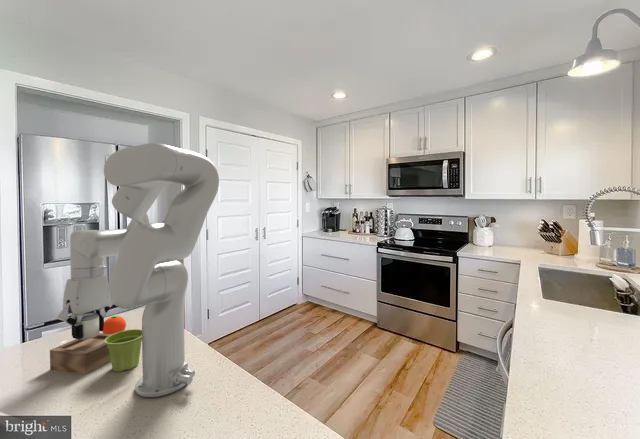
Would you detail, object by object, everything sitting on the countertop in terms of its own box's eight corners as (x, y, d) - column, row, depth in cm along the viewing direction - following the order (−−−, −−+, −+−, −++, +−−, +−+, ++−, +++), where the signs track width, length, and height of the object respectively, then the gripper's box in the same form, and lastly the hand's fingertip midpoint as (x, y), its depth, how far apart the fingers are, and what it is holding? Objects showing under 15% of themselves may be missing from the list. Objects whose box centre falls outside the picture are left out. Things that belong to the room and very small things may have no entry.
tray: (124, 354, 88) (124, 335, 88) (85, 375, 76) (85, 354, 76) (93, 350, 90) (92, 332, 90) (50, 370, 79) (49, 350, 78)
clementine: (104, 333, 102) (104, 313, 102) (127, 329, 106) (127, 310, 106) (99, 342, 95) (99, 321, 95) (124, 337, 99) (124, 317, 99)
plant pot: (125, 377, 75) (124, 344, 74) (96, 373, 77) (95, 341, 76) (153, 359, 84) (152, 330, 84) (126, 356, 86) (125, 328, 86)
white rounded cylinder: (91, 331, 86) (91, 311, 86) (103, 333, 85) (103, 313, 85) (73, 338, 82) (72, 317, 81) (85, 340, 80) (84, 319, 80)
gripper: (108, 266, 92) (108, 322, 92) (43, 277, 76) (44, 345, 76) (125, 268, 90) (125, 325, 90) (62, 280, 73) (63, 349, 74)
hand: (88, 333), depth 83 cm, fingers closed on white rounded cylinder, 5 cm apart
